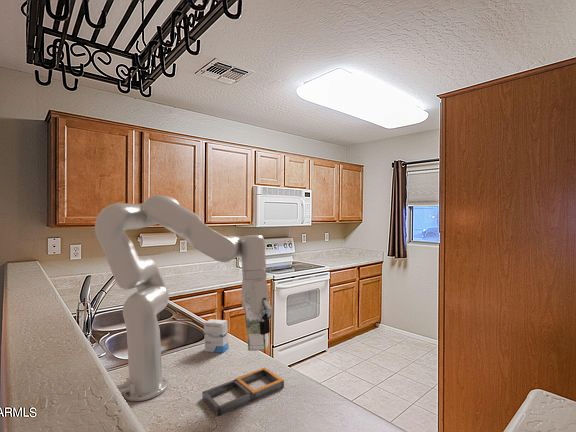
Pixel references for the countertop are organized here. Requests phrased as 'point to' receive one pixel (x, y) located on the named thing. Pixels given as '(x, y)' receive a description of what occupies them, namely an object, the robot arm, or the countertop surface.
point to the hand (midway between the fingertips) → (257, 329)
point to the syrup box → (255, 331)
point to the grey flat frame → (242, 390)
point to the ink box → (216, 335)
